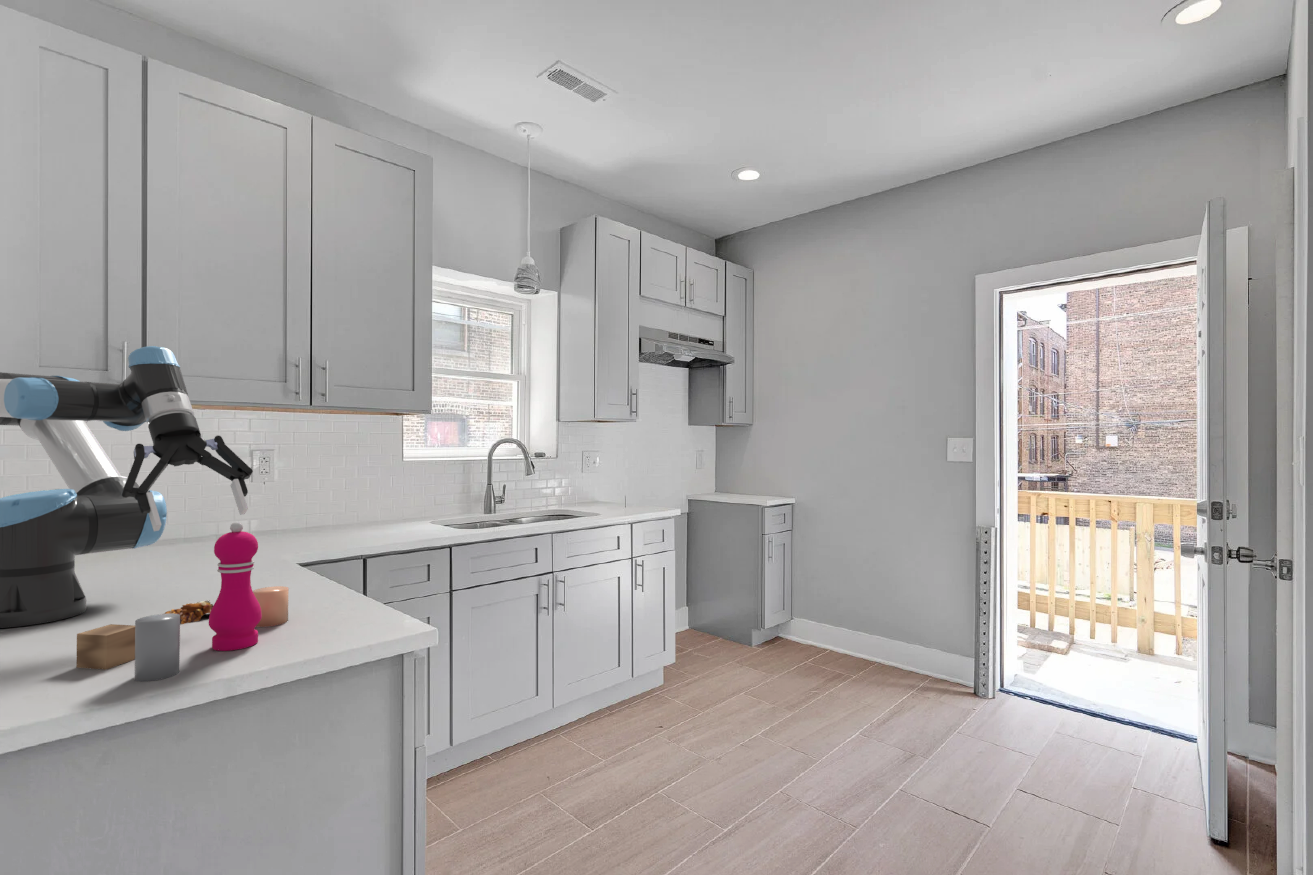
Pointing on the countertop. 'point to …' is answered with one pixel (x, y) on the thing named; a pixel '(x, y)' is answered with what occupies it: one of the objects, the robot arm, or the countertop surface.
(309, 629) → the countertop surface
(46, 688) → the countertop surface
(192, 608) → the brown lumpy mound
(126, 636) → the tan block
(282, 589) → the peach rounded cylinder
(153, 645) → the grey cylinder
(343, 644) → the countertop surface
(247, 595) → the pepper mill
